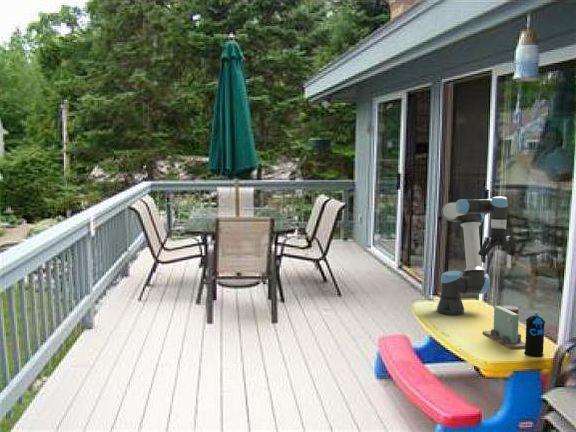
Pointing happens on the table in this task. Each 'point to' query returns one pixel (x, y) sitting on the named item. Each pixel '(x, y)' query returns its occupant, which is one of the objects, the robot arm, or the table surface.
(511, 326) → the door
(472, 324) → the table surface
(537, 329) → the aerosol can
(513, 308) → the canned food
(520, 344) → the hinge board
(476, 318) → the table surface
